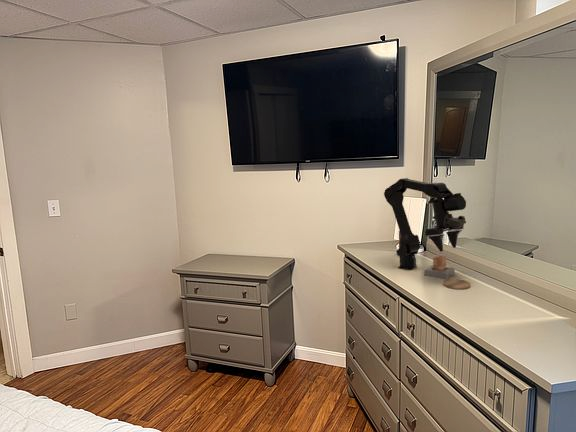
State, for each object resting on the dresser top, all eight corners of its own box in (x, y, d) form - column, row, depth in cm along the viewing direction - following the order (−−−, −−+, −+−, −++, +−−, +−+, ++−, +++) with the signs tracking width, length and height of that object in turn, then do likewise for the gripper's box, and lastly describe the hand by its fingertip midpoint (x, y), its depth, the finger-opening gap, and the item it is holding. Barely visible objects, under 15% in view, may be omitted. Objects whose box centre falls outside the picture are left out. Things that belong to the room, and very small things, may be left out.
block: (433, 274, 169) (433, 257, 168) (436, 272, 172) (436, 255, 171) (442, 276, 167) (442, 258, 165) (445, 273, 169) (445, 256, 168)
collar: (424, 275, 169) (424, 269, 169) (433, 269, 176) (433, 264, 176) (446, 279, 163) (446, 273, 162) (454, 273, 170) (454, 267, 169)
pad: (439, 286, 155) (439, 284, 154) (448, 279, 162) (448, 277, 162) (465, 291, 148) (465, 288, 148) (474, 284, 155) (474, 281, 155)
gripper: (445, 212, 149) (452, 252, 149) (471, 207, 160) (478, 244, 159) (421, 216, 159) (428, 253, 158) (448, 211, 169) (454, 246, 169)
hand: (448, 249), depth 161 cm, fingers open, 9 cm apart
